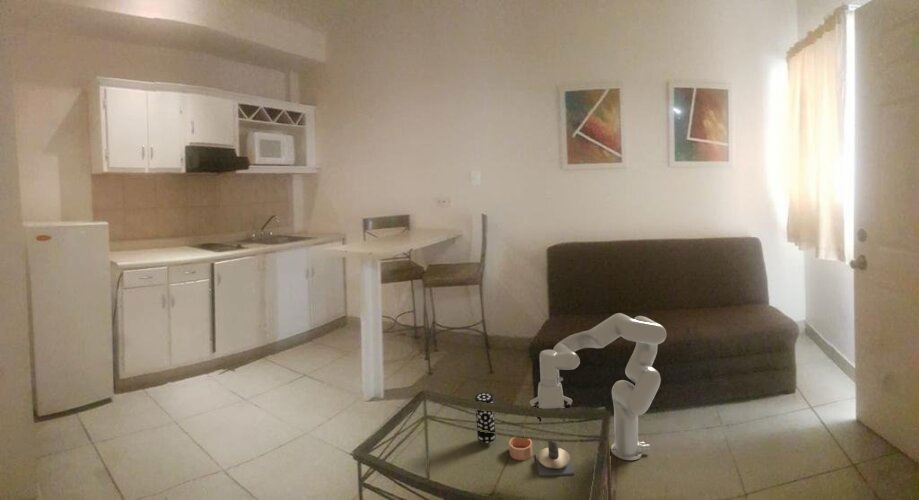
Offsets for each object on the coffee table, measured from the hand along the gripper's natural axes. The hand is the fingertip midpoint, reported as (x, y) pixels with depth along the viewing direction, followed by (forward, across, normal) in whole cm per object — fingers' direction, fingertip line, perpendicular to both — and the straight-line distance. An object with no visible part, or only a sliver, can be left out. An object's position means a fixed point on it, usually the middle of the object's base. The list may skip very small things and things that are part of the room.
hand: (551, 419), depth 184 cm
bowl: (+20, +13, -8) cm, 25 cm away
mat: (+20, 0, 0) cm, 20 cm away
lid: (+18, 0, 0) cm, 18 cm away
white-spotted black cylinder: (+18, +28, -17) cm, 37 cm away
